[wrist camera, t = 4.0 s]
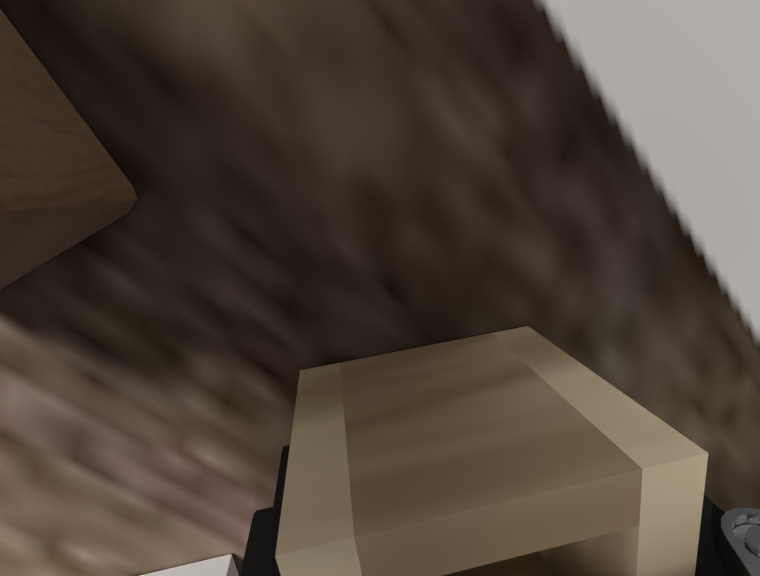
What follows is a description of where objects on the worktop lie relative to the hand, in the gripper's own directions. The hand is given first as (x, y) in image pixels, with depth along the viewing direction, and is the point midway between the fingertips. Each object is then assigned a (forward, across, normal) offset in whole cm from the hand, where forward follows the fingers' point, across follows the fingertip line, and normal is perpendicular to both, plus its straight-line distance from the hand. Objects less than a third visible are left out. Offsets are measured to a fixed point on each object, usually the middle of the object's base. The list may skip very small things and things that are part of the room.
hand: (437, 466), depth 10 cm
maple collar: (+1, 0, 0) cm, 1 cm away
